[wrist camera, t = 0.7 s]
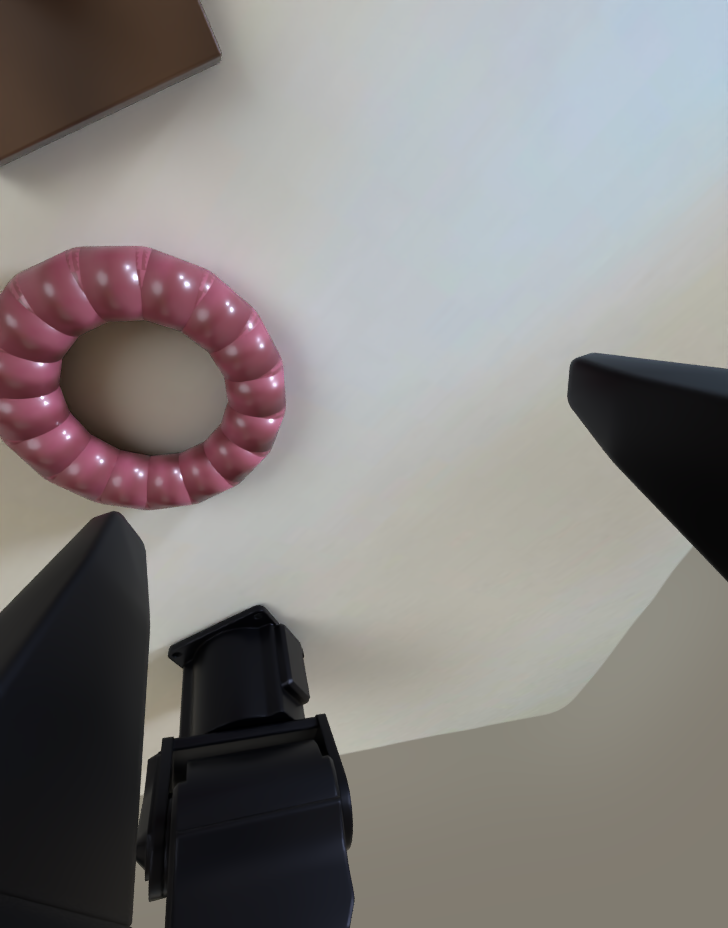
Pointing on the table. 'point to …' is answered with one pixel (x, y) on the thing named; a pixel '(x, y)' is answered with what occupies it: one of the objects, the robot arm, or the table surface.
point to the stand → (90, 62)
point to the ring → (131, 299)
